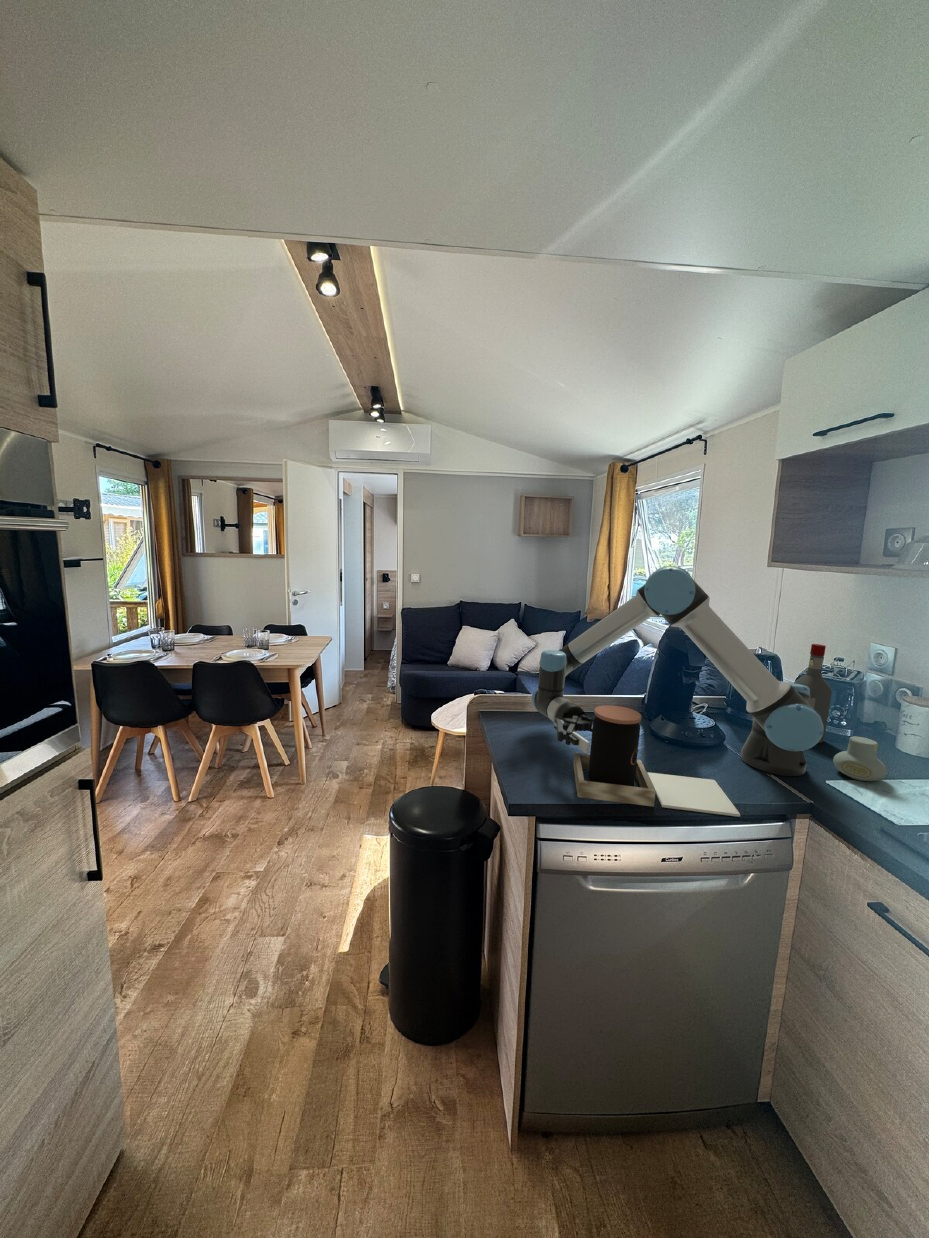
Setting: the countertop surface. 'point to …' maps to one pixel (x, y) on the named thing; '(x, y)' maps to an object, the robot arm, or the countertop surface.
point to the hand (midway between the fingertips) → (613, 745)
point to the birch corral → (613, 785)
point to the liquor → (817, 685)
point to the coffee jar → (614, 745)
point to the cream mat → (691, 794)
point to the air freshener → (860, 760)
